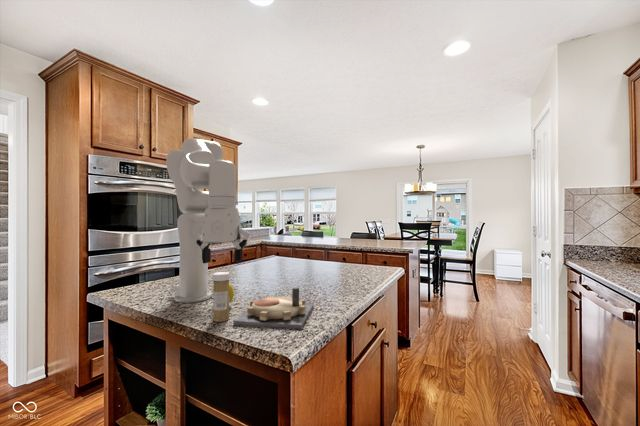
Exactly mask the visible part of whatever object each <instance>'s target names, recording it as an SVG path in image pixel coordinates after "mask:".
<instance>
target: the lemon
mask: <svg viewBox="0 0 640 426" xmlns="http://www.w3.org/2000/svg"><path fill="white" fill-rule="evenodd" d="M234 292H235V291H234V287H233V286H232V284H231V283H229V304H230V303H231V302H232V301H233V299H234V296H235V293H234Z"/></svg>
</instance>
